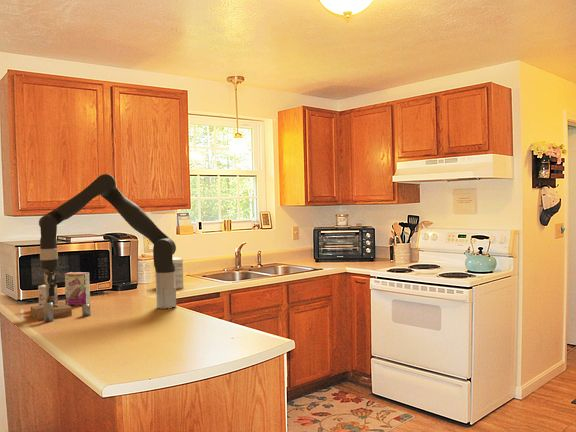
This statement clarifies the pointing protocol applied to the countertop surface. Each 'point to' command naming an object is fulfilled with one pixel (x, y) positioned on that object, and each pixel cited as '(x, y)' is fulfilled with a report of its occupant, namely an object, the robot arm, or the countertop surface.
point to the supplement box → (178, 272)
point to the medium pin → (48, 312)
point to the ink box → (43, 294)
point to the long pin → (48, 298)
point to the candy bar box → (77, 288)
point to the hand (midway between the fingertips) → (50, 295)
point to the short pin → (86, 310)
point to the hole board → (58, 311)
